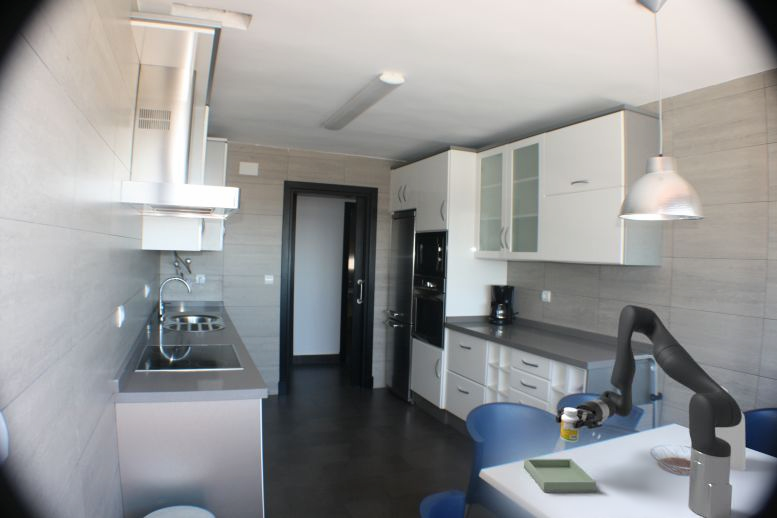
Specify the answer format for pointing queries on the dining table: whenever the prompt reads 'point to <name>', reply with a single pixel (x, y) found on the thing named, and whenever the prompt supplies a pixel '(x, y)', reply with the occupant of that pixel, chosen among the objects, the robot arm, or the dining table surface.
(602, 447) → the dining table surface
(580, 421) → the robot arm
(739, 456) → the milk
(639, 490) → the dining table surface
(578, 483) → the tray
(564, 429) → the supplement bottle
